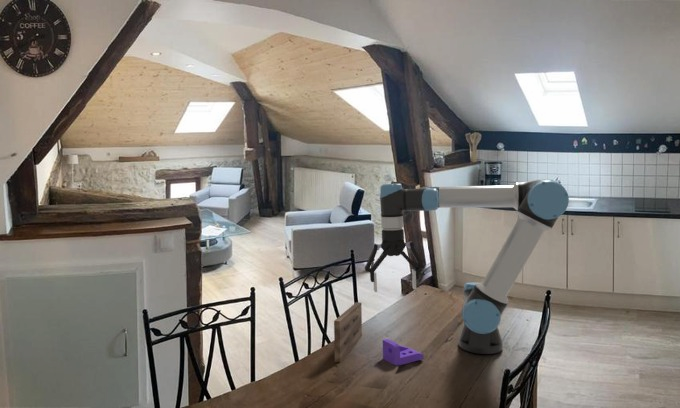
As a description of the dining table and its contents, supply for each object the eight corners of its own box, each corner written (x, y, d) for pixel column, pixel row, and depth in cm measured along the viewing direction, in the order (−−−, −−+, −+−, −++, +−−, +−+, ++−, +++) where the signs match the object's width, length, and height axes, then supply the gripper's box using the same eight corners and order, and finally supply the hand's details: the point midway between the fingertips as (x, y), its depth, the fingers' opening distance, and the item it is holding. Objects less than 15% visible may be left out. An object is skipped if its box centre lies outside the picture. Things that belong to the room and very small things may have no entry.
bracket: (395, 366, 163) (394, 346, 162) (382, 359, 168) (382, 339, 168) (423, 358, 169) (423, 339, 168) (410, 352, 175) (410, 333, 174)
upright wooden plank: (362, 339, 188) (361, 302, 187) (340, 362, 166) (340, 321, 165) (356, 338, 189) (356, 302, 188) (334, 361, 166) (334, 320, 165)
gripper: (425, 225, 175) (427, 285, 176) (355, 229, 173) (357, 289, 174) (431, 227, 167) (433, 290, 169) (357, 232, 165) (360, 294, 167)
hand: (395, 290), depth 171 cm, fingers open, 13 cm apart
